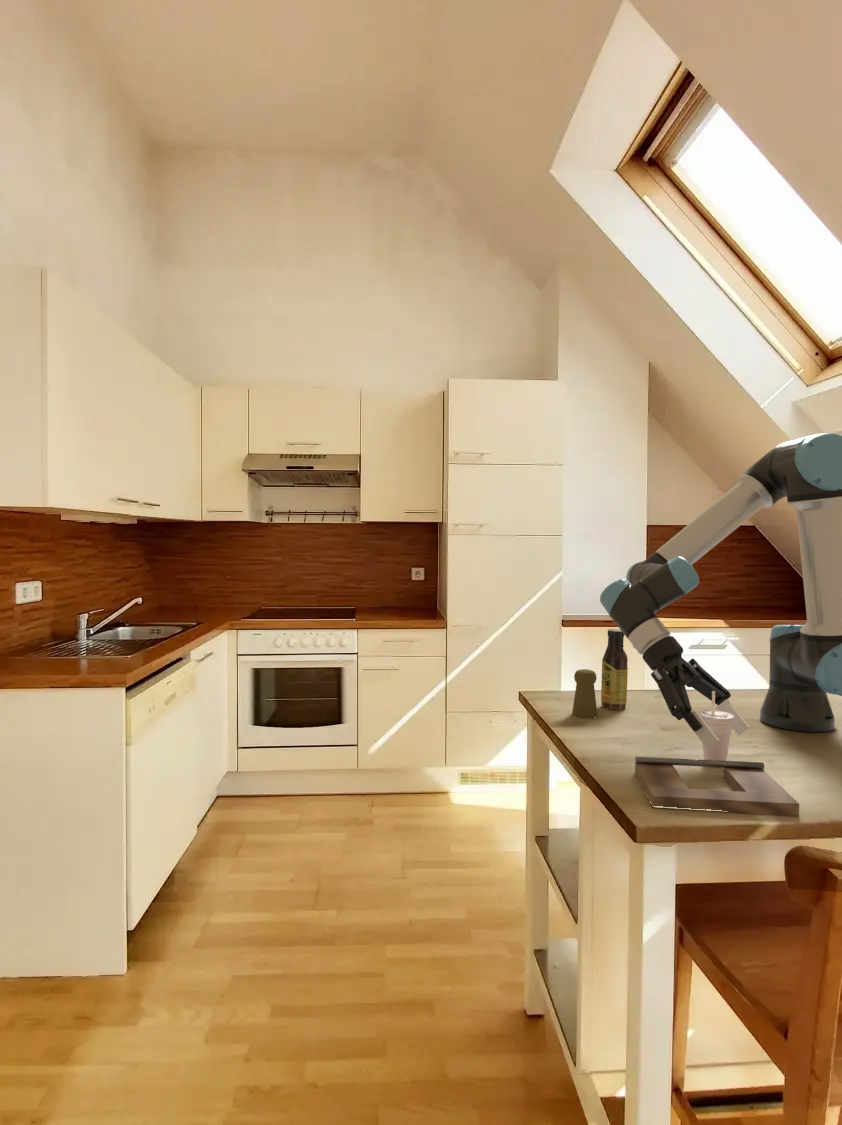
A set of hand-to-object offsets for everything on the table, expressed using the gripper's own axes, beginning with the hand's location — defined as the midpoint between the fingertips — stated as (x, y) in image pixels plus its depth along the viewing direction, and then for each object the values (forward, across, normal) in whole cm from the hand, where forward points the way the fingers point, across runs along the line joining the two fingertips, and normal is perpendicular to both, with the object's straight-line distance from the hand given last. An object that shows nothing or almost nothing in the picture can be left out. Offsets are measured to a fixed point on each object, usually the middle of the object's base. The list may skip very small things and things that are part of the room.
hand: (729, 737), depth 127 cm
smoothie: (+2, 0, -6) cm, 7 cm away
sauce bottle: (-23, -21, -32) cm, 45 cm away
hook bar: (+2, +9, -4) cm, 10 cm away
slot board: (+7, +14, -1) cm, 16 cm away
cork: (-24, -10, -32) cm, 41 cm away
